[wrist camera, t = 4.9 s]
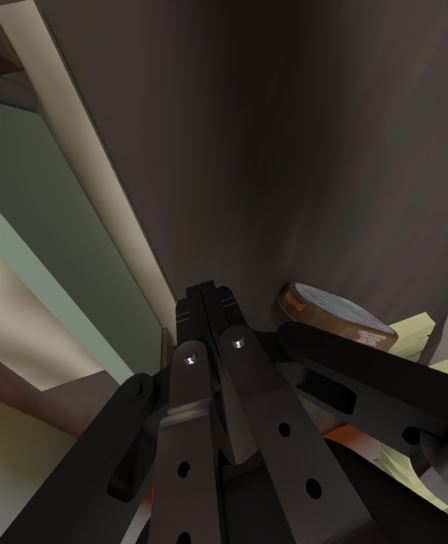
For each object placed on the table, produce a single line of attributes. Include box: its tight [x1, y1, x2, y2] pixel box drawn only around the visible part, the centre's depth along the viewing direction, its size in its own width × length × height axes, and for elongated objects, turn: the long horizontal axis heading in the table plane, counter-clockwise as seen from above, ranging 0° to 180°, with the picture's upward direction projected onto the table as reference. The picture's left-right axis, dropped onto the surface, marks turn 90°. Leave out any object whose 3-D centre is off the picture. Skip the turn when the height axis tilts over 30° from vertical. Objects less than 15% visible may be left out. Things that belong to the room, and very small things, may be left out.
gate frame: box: [0, 0, 177, 391], centre depth 13 cm, size 18×27×11 cm, turn 13°
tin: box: [278, 281, 399, 352], centre depth 24 cm, size 15×3×8 cm, turn 64°
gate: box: [0, 75, 162, 385], centre depth 13 cm, size 2×21×8 cm, turn 13°
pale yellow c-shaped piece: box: [373, 312, 448, 510], centre depth 31 cm, size 30×16×18 cm, turn 14°
